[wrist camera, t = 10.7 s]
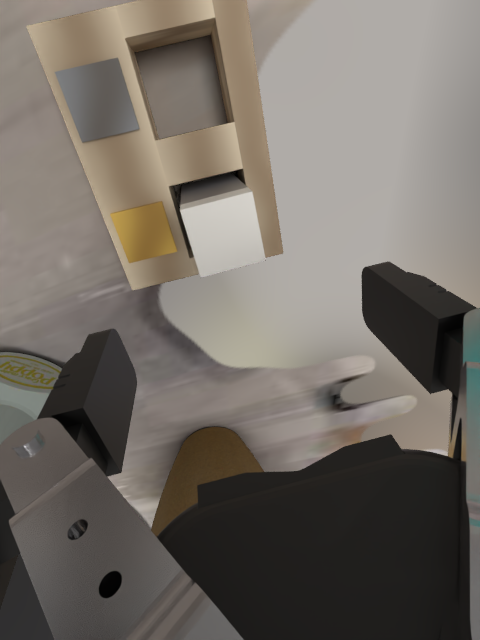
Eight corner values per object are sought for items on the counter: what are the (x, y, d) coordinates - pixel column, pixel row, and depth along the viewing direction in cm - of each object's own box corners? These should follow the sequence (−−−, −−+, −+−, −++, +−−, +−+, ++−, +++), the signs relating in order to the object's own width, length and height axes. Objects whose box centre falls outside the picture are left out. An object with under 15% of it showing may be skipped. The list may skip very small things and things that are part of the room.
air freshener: (-42, 398, 33) (-121, 491, 25) (-24, 331, 30) (-108, 411, 22) (73, 427, 37) (39, 518, 28) (99, 371, 34) (70, 452, 25)
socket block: (138, 272, 30) (131, 292, 26) (51, 42, 22) (23, 24, 18) (272, 239, 30) (284, 254, 26) (233, 1, 22) (243, -26, 18)
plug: (196, 234, 29) (200, 277, 20) (181, 185, 27) (179, 210, 18) (241, 221, 29) (265, 260, 20) (230, 172, 27) (252, 191, 18)
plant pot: (231, 498, 47) (251, 653, 33) (128, 469, 41) (100, 640, 27) (298, 426, 42) (354, 573, 28) (190, 381, 36) (194, 536, 22)
